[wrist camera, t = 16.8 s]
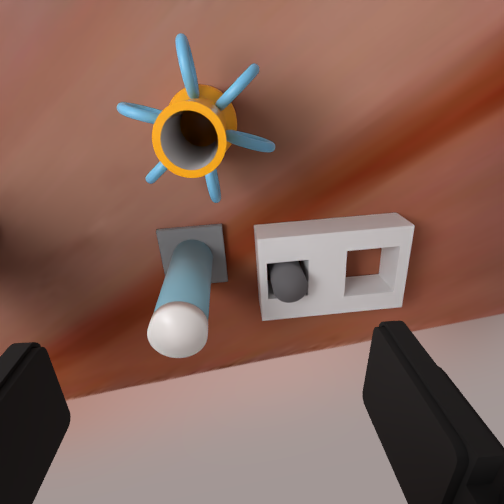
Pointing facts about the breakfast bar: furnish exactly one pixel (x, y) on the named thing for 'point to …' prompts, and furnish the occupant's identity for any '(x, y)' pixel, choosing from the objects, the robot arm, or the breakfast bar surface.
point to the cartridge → (183, 302)
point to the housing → (335, 263)
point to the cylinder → (196, 125)
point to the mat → (203, 233)
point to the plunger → (287, 281)
